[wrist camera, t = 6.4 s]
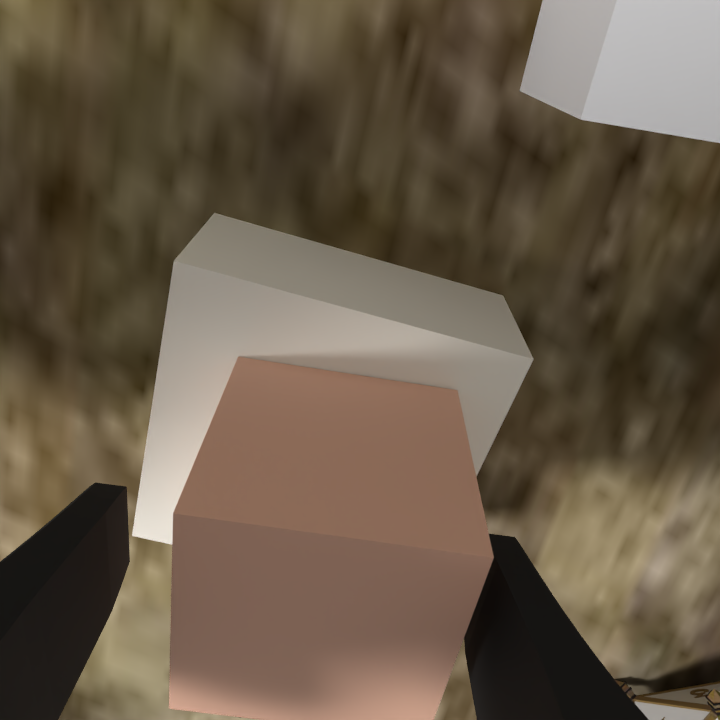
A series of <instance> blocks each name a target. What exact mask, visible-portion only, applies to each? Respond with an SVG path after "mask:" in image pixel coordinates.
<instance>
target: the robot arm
mask: <svg viewBox="0 0 720 720" xmlns="http://www.w3.org/2000/svg"><path fill="white" fill-rule="evenodd" d="M489 538H490V542H491V547H492V551H493V556H494V559H493V561H492V564H491V567H490V569H489V572H488V575H487V577H486V580H485V583H484V585H483V588H482V591H481V594H480V596H479V599H478V602H477V604H476V607H475V610H474V612H473V615H472V618H471V620H470V623H469V626H468V628H467V631H466V634H465V637H464V640H465V654H466V660H467V666H468V671H469V677H470V683H471V689H472V694H473V700H474V705H475V711H476V716H477V720H649V719H648V718H647V717H646V716H645V715H644V714H643V712H642V711H641V710H640V709H639V708H638V707H637V706H636V705H635V703H634V702H633V701H632V700H631V699H630V698H629V697H628V695H627V694H626V693H625V692H624V691H623V689H622V688H621V687H620V686H619V685H618V683H617V682H616V681H615V680H614V678H613V677H612V676H611V675H610V673H609V672H608V671H607V670H606V668H605V667H604V666H603V664H602V663H601V662H600V660H599V659H598V658H597V657H596V655H595V654H594V653H593V651H592V650H591V649H590V647H589V646H588V645H587V643H586V642H585V641H584V639H583V638H582V636H581V635H580V634H579V632H578V631H577V629H576V628H575V626H574V625H573V624H572V622H571V621H570V619H569V618H568V617H567V615H566V614H565V612H564V611H563V609H562V608H561V607H560V605H559V604H558V602H557V601H556V599H555V598H554V596H553V595H552V593H551V592H550V590H549V589H548V587H547V586H546V584H545V582H544V581H543V579H542V578H541V576H540V575H539V573H538V572H537V570H536V569H535V567H534V565H533V564H532V562H531V561H530V559H529V558H528V556H527V554H526V553H525V551H524V550H523V548H522V547H521V545H520V544H519V542H518V541H517V539H516V538H515V537H510V536H502V535H494V534H489ZM129 562H130V557H129V533H128V509H127V487H125V486H117V485H109V484H102V483H94V484H93V485H91V486H90V487H89V488H88V489H86V490H85V491H84V492H83V493H82V494H81V495H79V496H78V497H77V498H76V499H75V500H74V501H73V502H71V503H70V504H69V505H68V506H67V507H66V508H65V509H63V510H62V511H61V512H60V513H59V514H58V515H56V516H55V517H54V518H53V519H52V520H51V521H49V522H48V523H47V524H46V525H45V526H44V527H42V528H41V529H40V530H39V531H38V532H36V533H35V534H34V535H33V536H31V537H30V538H29V539H28V540H27V541H25V542H24V543H23V544H22V545H20V546H19V547H18V548H17V549H15V550H14V551H13V552H12V553H11V554H9V555H8V556H7V557H6V558H4V559H3V560H2V561H1V562H0V720H58V719H59V717H60V715H61V713H62V711H63V709H64V707H65V705H66V703H67V701H68V699H69V697H70V695H71V693H72V691H73V689H74V687H75V685H76V683H77V681H78V679H79V677H80V675H81V673H82V671H83V669H84V667H85V665H86V663H87V661H88V659H89V657H90V655H91V653H92V651H93V649H94V646H95V644H96V642H97V640H98V638H99V636H100V634H101V632H102V630H103V628H104V626H105V624H106V622H107V620H108V618H109V616H110V614H111V612H112V609H113V607H114V604H115V601H116V598H117V596H118V593H119V590H120V588H121V585H122V582H123V579H124V576H125V573H126V570H127V568H128V565H129Z"/></svg>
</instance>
